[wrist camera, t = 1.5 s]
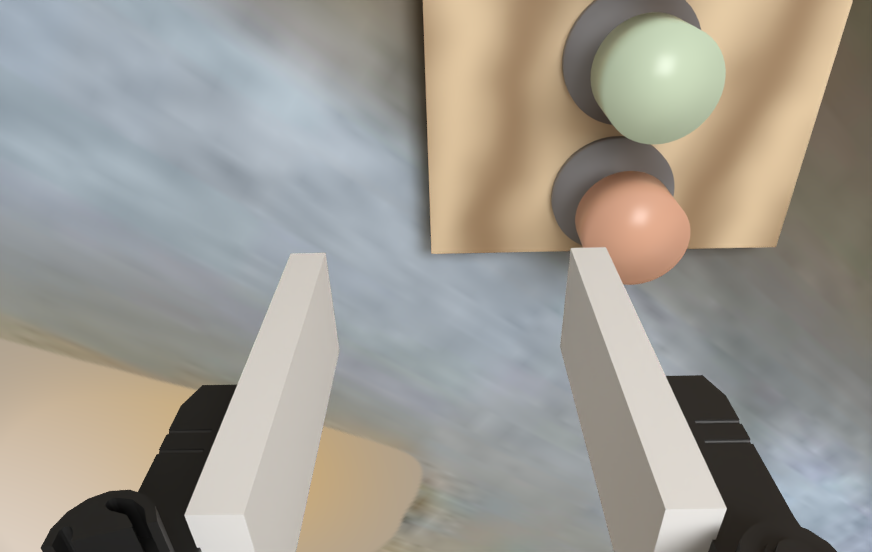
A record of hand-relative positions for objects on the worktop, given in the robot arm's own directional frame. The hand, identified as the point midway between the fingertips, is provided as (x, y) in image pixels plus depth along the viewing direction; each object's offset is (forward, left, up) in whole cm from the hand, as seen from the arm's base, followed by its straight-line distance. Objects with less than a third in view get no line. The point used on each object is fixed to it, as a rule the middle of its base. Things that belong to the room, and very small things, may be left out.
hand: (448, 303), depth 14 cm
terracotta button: (+10, -8, -20) cm, 24 cm away
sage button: (+10, 0, -20) cm, 22 cm away
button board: (+10, 0, -25) cm, 27 cm away
